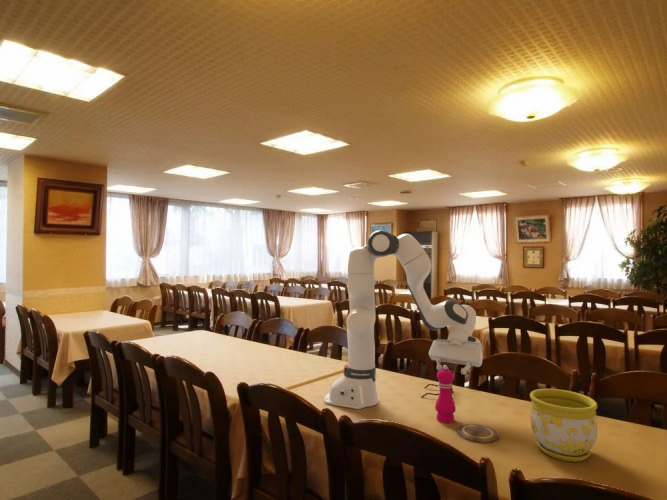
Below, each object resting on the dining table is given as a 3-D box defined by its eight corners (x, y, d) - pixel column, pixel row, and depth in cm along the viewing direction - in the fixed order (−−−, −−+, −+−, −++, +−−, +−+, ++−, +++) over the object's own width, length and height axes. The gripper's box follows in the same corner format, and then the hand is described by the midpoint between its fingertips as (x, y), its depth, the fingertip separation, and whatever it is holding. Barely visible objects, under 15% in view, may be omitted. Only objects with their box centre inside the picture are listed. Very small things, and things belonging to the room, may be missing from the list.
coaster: (458, 440, 130) (458, 437, 130) (456, 424, 143) (456, 421, 143) (501, 444, 127) (501, 441, 127) (494, 427, 140) (494, 425, 140)
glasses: (452, 402, 167) (452, 389, 167) (420, 398, 171) (420, 386, 171) (453, 392, 179) (453, 380, 179) (423, 389, 183) (423, 378, 183)
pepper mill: (456, 424, 143) (456, 368, 143) (435, 422, 144) (435, 367, 145) (454, 416, 150) (454, 362, 150) (434, 415, 151) (434, 361, 152)
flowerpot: (518, 439, 131) (518, 389, 131) (570, 437, 133) (570, 387, 133) (553, 468, 113) (553, 409, 113) (613, 465, 115) (612, 408, 115)
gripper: (431, 333, 165) (422, 362, 156) (483, 339, 153) (475, 371, 144) (436, 342, 168) (427, 371, 160) (486, 349, 156) (479, 380, 148)
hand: (450, 371), depth 152 cm, fingers open, 8 cm apart
